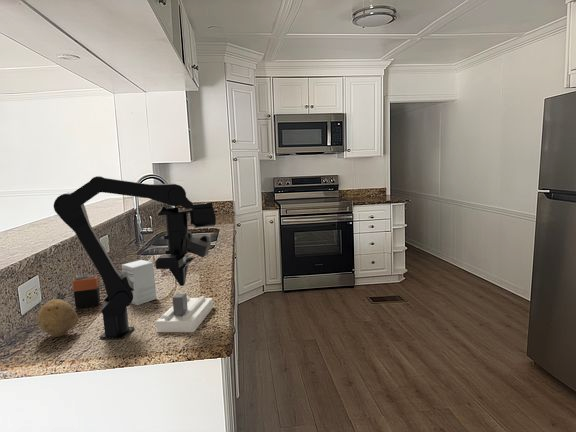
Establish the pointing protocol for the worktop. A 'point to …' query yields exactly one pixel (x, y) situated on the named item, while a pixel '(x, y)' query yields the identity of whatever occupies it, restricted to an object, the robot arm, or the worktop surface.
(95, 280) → the battery
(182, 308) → the switch knob
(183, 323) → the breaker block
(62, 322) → the tan rounded lump
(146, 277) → the supplement box
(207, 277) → the worktop surface
